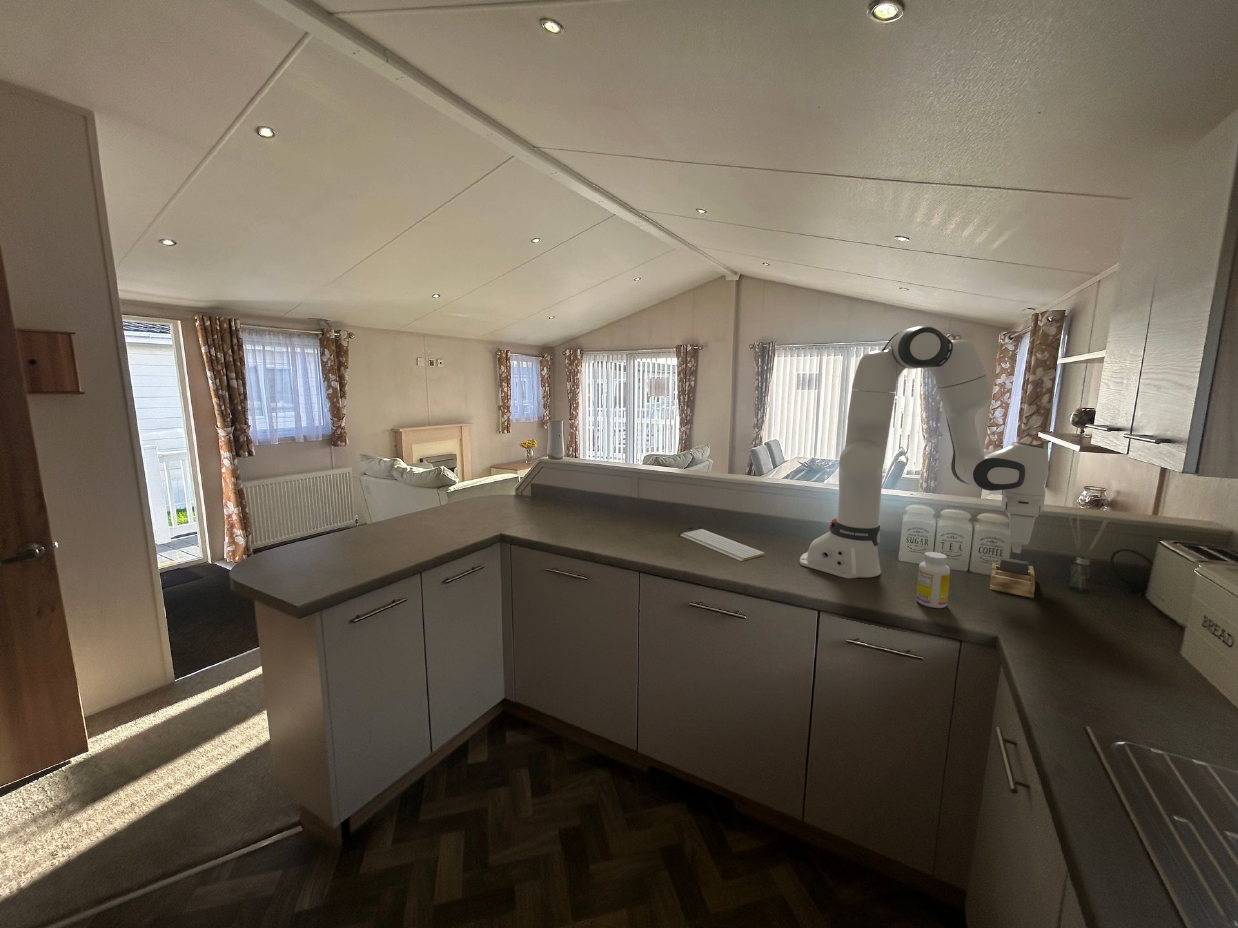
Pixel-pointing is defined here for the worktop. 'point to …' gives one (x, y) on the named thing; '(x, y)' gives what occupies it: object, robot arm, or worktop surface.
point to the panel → (1014, 566)
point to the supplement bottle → (933, 581)
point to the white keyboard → (722, 544)
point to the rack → (1013, 582)
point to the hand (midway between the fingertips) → (1016, 551)
